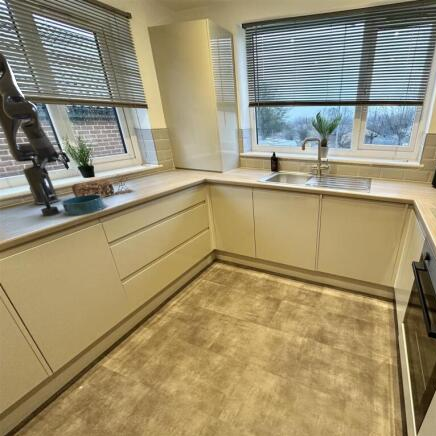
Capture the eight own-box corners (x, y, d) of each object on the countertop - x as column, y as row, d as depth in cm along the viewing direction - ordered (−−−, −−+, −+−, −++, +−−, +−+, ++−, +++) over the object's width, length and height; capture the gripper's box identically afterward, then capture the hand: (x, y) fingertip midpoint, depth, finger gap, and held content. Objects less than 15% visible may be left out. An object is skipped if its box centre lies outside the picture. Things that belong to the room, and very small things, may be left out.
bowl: (57, 214, 121) (52, 203, 118) (86, 204, 136) (83, 194, 133) (85, 215, 119) (81, 204, 116) (112, 205, 134) (108, 195, 131)
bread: (78, 202, 140) (72, 185, 136) (75, 199, 146) (69, 183, 142) (116, 195, 153) (111, 179, 149) (111, 192, 159) (106, 177, 155)
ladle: (40, 215, 120) (26, 184, 114) (52, 211, 126) (39, 181, 120) (50, 216, 119) (36, 184, 113) (62, 211, 125) (50, 181, 119)
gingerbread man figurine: (116, 194, 154) (111, 176, 150) (115, 193, 157) (110, 175, 152) (132, 191, 160) (127, 173, 155) (131, 190, 162) (126, 173, 158)
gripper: (57, 137, 124) (71, 164, 136) (20, 143, 116) (38, 171, 127) (61, 144, 121) (75, 171, 132) (23, 150, 113) (41, 178, 124)
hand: (57, 171), depth 130 cm, fingers open, 8 cm apart
